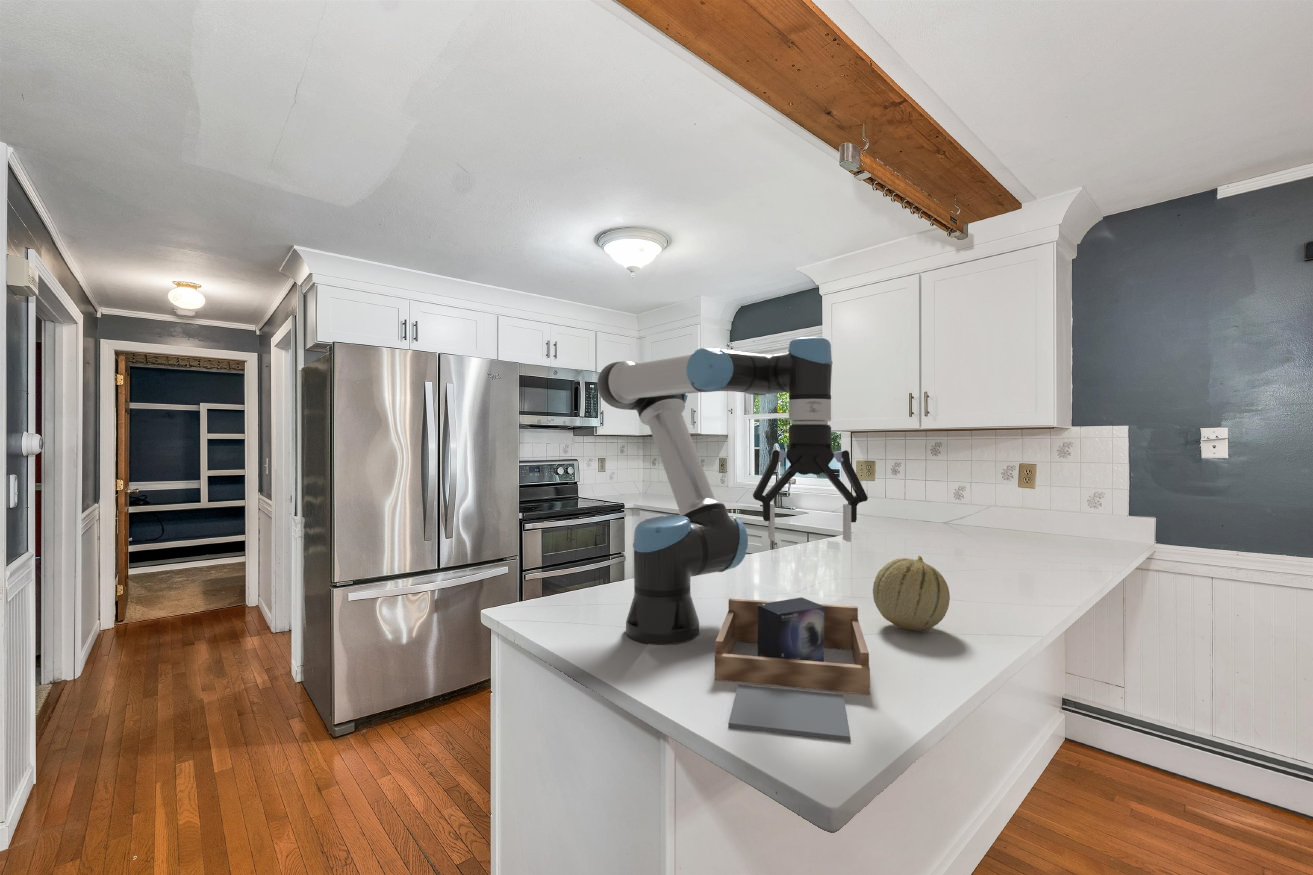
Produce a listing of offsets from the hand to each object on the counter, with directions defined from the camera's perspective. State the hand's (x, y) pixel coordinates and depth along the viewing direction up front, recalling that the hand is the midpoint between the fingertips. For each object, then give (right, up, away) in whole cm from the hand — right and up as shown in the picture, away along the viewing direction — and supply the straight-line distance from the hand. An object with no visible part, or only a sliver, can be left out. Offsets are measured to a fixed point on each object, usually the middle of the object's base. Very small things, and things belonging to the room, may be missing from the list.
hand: (809, 539), depth 106 cm
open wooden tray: (-4, -21, -3) cm, 22 cm away
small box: (-4, -22, -3) cm, 22 cm away
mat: (-9, -21, -22) cm, 32 cm away
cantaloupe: (+25, -21, +15) cm, 36 cm away
